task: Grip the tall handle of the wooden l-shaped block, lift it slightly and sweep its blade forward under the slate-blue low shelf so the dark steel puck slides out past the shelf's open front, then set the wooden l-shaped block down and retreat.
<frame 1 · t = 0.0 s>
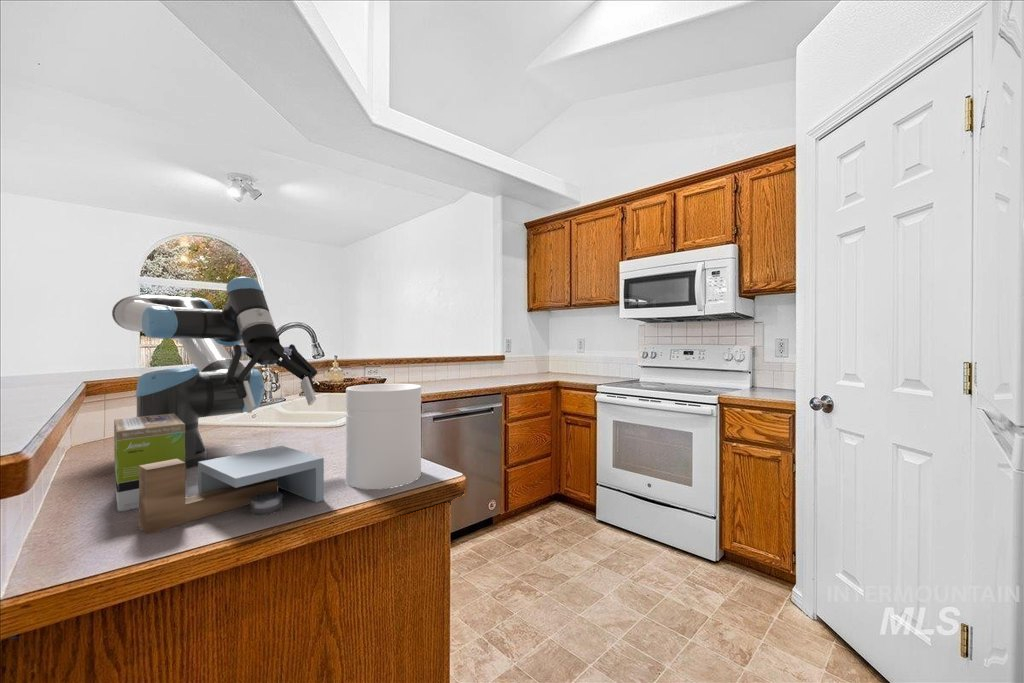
hand: (283, 405, 97), 15 cm above the table, tool tilted 35°, fingers open, 13 cm apart
wooden l-shaped block: (162, 525, 70), on the table
canister: (384, 478, 94), on the table
tea box: (149, 496, 83), on the table
low shelf: (261, 502, 79), on the table
steel puck: (266, 510, 76), on the table
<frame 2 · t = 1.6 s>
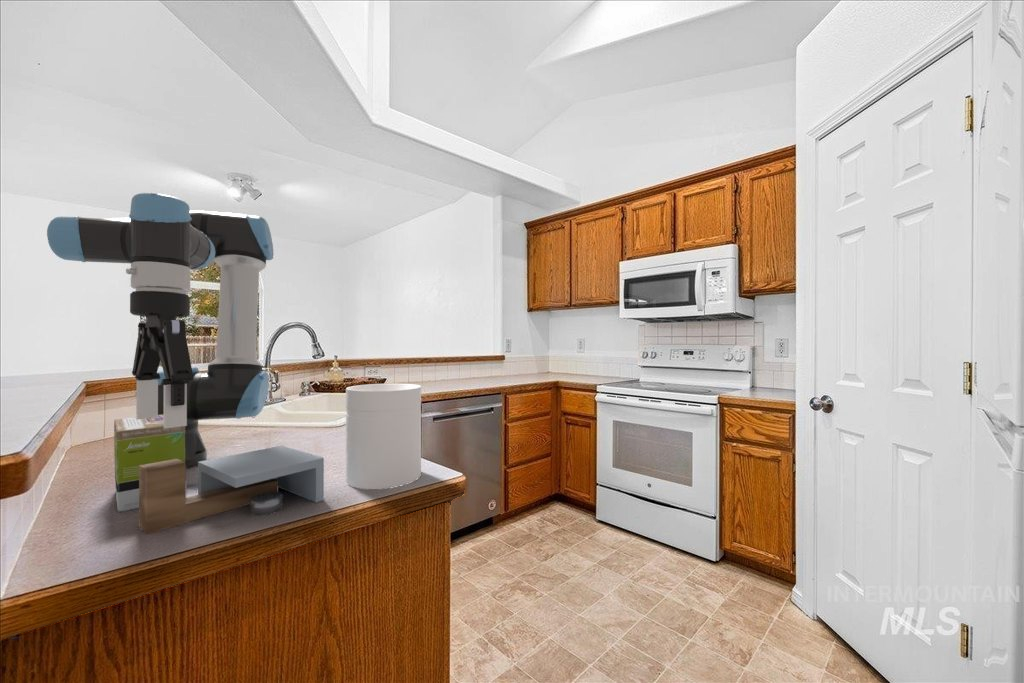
hand: (160, 422, 69), 17 cm above the table, tool pointing down, fingers open, 13 cm apart
nothing on the table moved.
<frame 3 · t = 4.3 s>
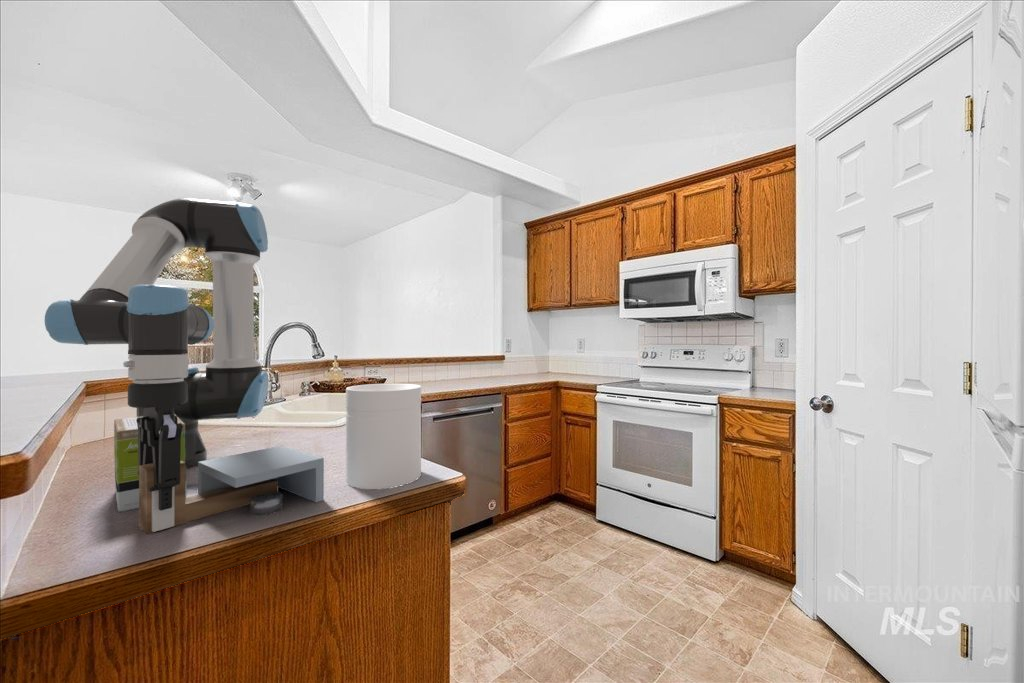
hand: (158, 524, 69), 0 cm above the table, tool pointing down, fingers closed on wooden l-shaped block, 4 cm apart
wooden l-shaped block: (162, 525, 70), on the table, touching gripper
everything else where it was.
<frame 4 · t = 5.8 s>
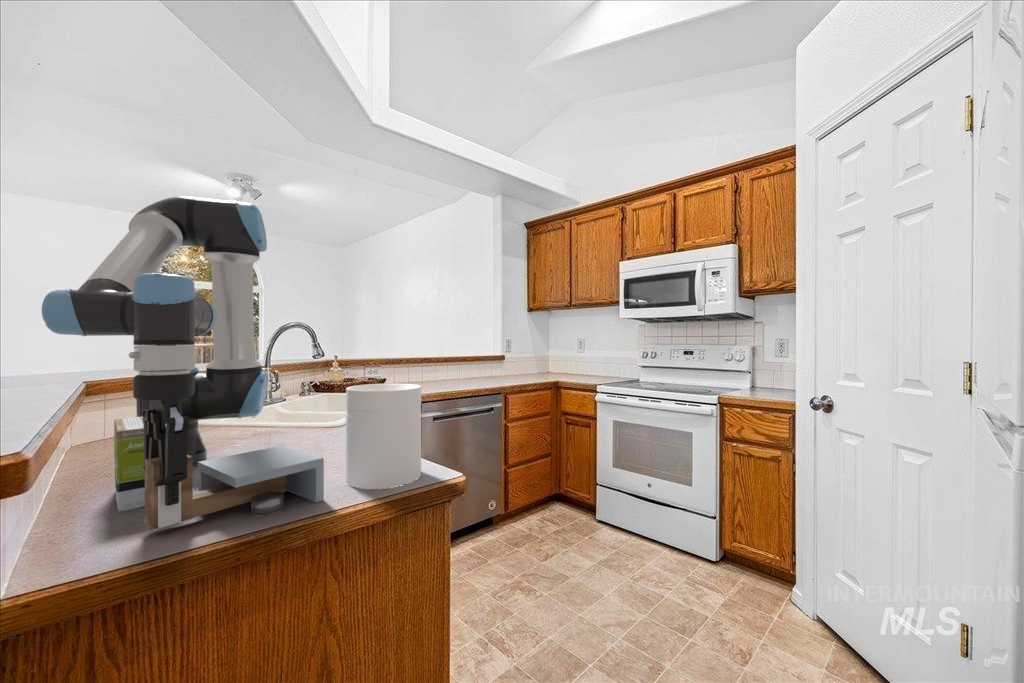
hand: (164, 520, 67), 2 cm above the table, tool pointing down, fingers closed on wooden l-shaped block, 4 cm apart
wooden l-shaped block: (169, 521, 68), point 1 cm above the table, touching gripper, steel puck
steel puck: (267, 510, 76), on the table, touching wooden l-shaped block
everything else where it was.
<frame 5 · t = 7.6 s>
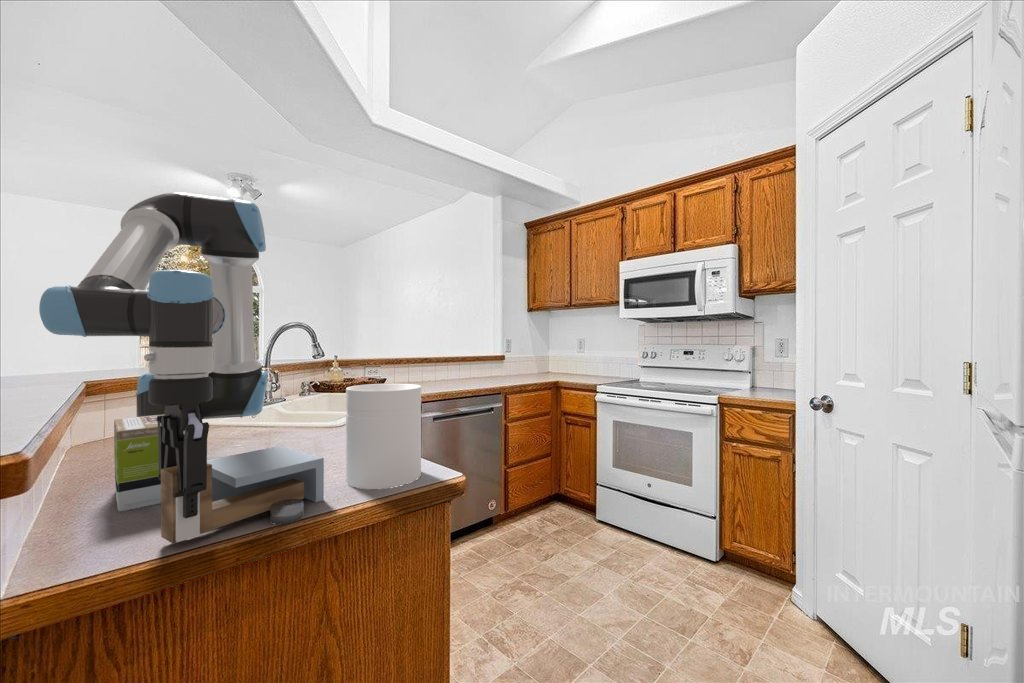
hand: (181, 533, 63), 2 cm above the table, tool pointing down, fingers closed on wooden l-shaped block, 4 cm apart
wooden l-shaped block: (187, 533, 64), point 1 cm above the table, touching gripper
steel puck: (287, 518, 72), on the table
everything else where it was.
when the fingers open (0 cm above the table, at t = 9.0 s): wooden l-shaped block stays where it is, on the table.
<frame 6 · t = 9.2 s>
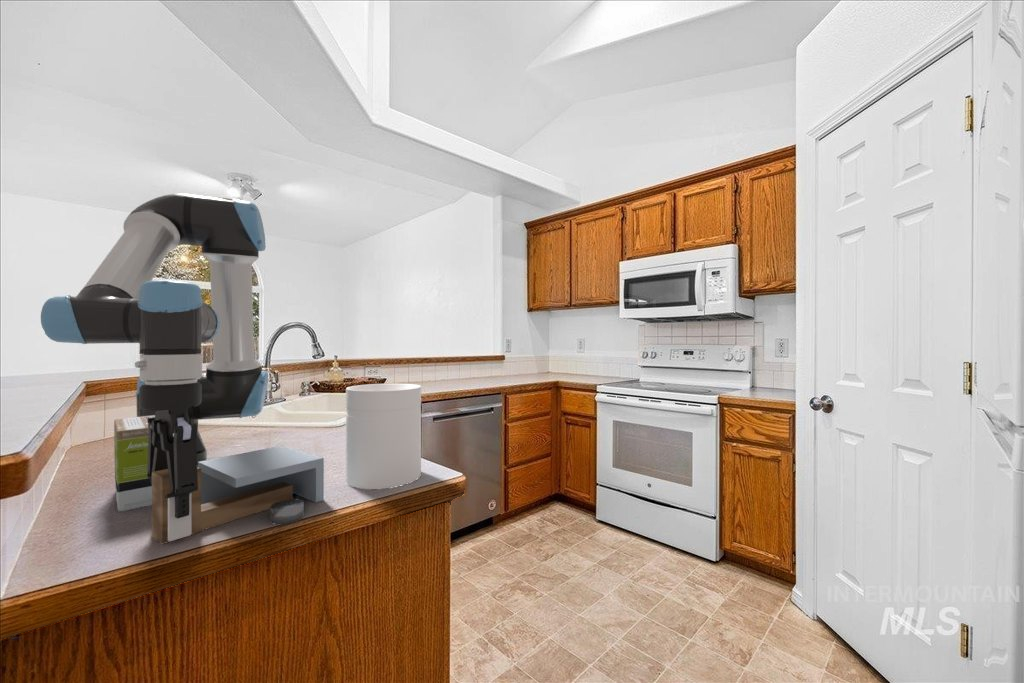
hand: (171, 530, 66), 1 cm above the table, tool pointing down, fingers open, 7 cm apart
wooden l-shaped block: (176, 534, 66), on the table
everything else where it was.
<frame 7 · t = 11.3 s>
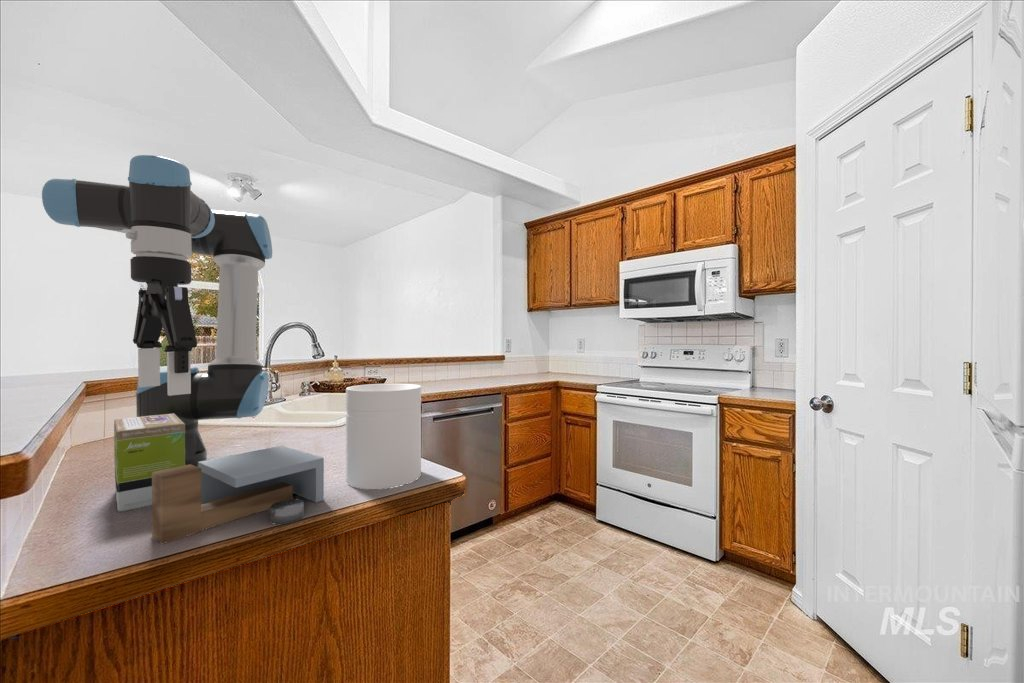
hand: (163, 390, 69), 22 cm above the table, tool pointing down, fingers open, 13 cm apart
nothing on the table moved.
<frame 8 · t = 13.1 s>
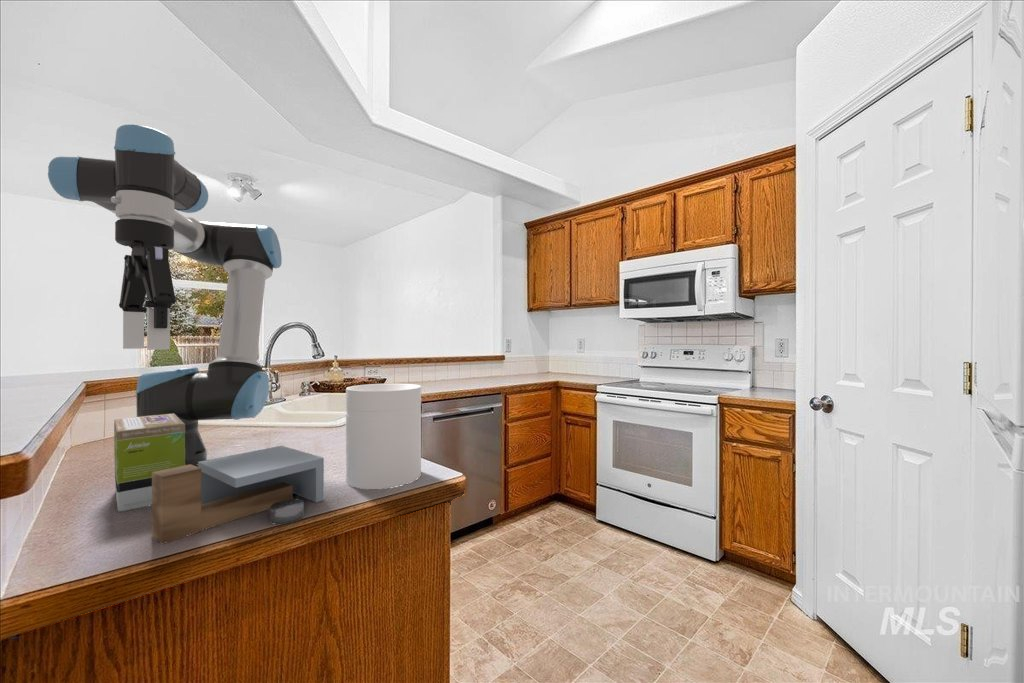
hand: (145, 349, 72), 29 cm above the table, tool pointing down, fingers open, 13 cm apart
nothing on the table moved.
at the end: steel puck inside the target area (3.3 cm from its centre), on the table; the gripper is holding nothing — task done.
